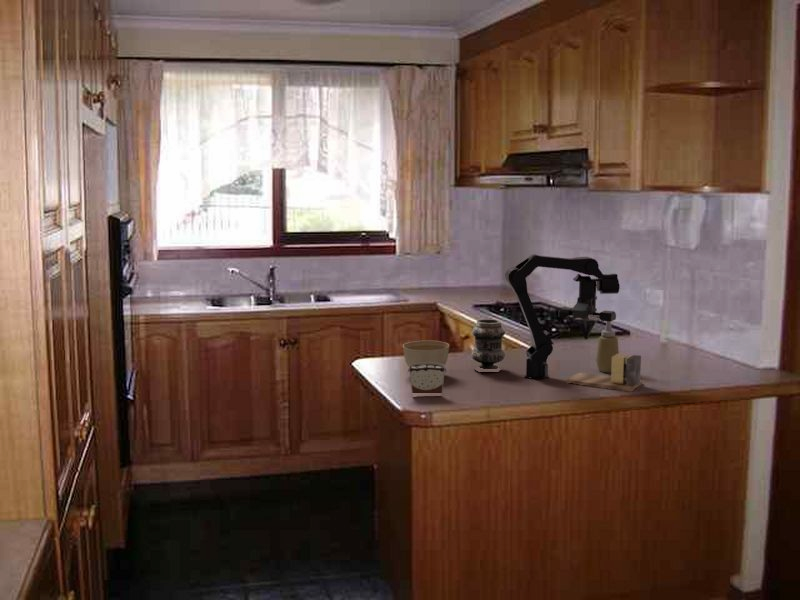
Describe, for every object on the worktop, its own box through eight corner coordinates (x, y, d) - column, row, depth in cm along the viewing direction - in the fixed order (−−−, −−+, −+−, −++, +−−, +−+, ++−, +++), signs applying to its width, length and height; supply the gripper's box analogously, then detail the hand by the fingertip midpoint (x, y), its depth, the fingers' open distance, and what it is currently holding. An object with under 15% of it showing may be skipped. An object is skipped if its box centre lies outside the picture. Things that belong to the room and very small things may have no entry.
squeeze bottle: (602, 374, 301) (603, 323, 298) (591, 369, 309) (592, 319, 306) (623, 372, 303) (624, 322, 300) (612, 367, 311) (613, 318, 308)
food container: (445, 391, 279) (445, 361, 278) (446, 396, 273) (446, 365, 272) (406, 392, 279) (406, 362, 277) (407, 397, 273) (407, 366, 271)
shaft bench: (566, 383, 289) (566, 353, 287) (578, 375, 299) (579, 347, 297) (631, 391, 277) (632, 361, 276) (642, 383, 287) (643, 354, 286)
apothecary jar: (503, 374, 301) (503, 324, 299) (469, 373, 304) (469, 323, 301) (506, 367, 313) (506, 318, 310) (473, 365, 316) (473, 317, 313)
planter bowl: (397, 372, 306) (396, 342, 305) (439, 368, 311) (439, 339, 310) (411, 382, 291) (411, 351, 290) (456, 379, 296) (456, 347, 294)
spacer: (610, 382, 284) (611, 356, 282) (616, 378, 289) (617, 353, 287) (622, 384, 282) (623, 358, 280) (628, 380, 287) (629, 354, 285)
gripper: (552, 295, 293) (551, 340, 295) (606, 299, 283) (605, 345, 285) (564, 291, 302) (563, 335, 304) (617, 294, 292) (615, 340, 294)
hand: (586, 339), depth 297 cm, fingers closed
